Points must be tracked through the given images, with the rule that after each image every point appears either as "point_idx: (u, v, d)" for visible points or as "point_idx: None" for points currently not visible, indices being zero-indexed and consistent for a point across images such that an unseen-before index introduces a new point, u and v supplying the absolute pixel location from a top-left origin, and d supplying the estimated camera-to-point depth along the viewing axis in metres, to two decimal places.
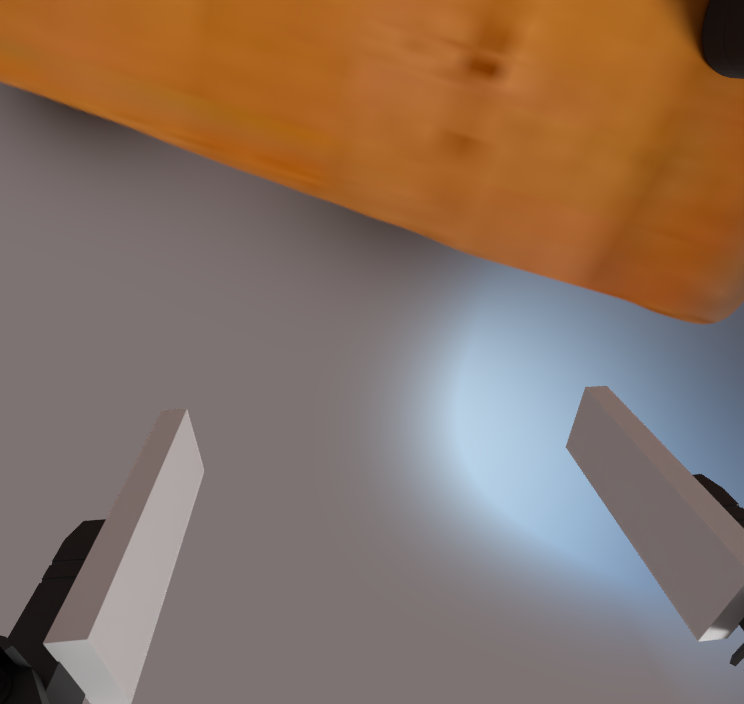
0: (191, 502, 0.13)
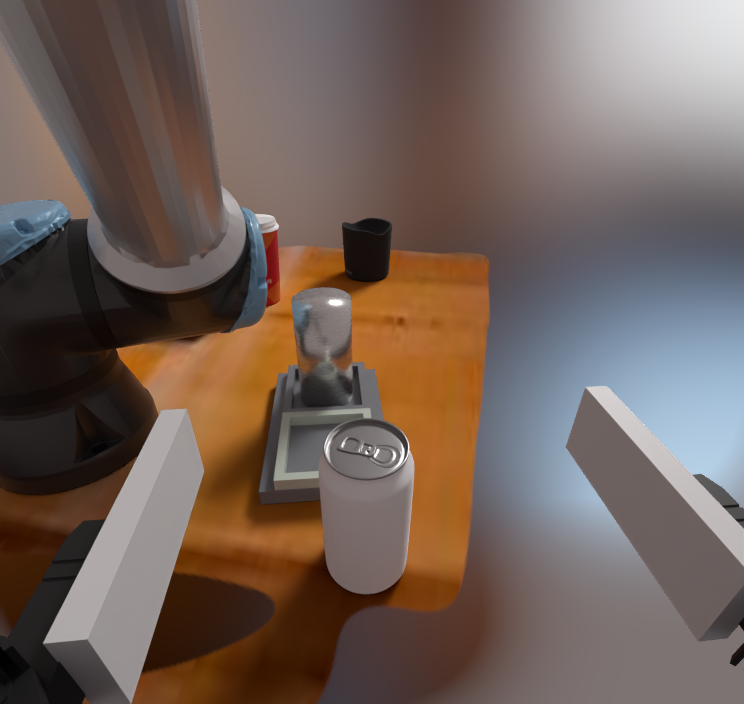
0: (191, 502, 0.13)
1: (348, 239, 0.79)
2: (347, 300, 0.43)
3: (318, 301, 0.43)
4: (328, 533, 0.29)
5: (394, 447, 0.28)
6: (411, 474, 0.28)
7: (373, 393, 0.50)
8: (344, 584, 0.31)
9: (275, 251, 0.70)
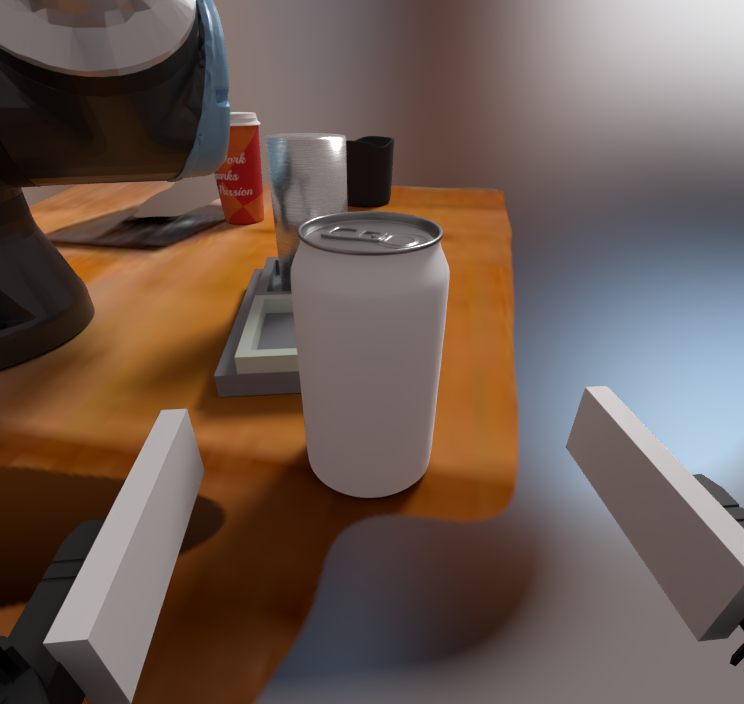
0: (191, 502, 0.13)
1: None
2: (340, 137, 0.32)
3: (300, 136, 0.32)
4: (308, 390, 0.18)
5: (416, 235, 0.17)
6: (446, 273, 0.16)
7: None
8: (336, 483, 0.20)
9: (256, 154, 0.59)
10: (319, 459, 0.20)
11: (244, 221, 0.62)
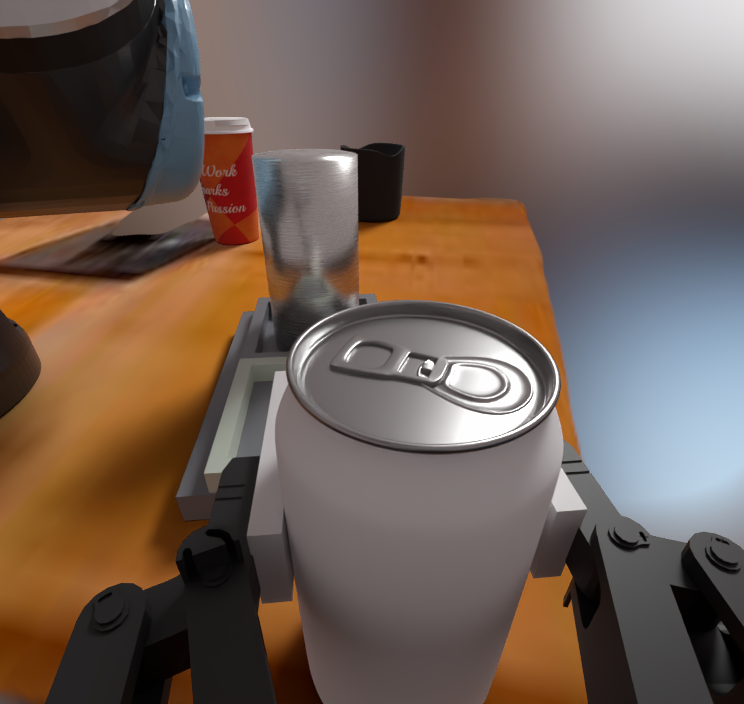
0: None
1: None
2: (351, 156, 0.24)
3: (298, 155, 0.24)
4: (308, 611, 0.11)
5: (501, 362, 0.09)
6: (562, 441, 0.09)
7: None
8: None
9: (249, 165, 0.51)
10: (325, 691, 0.12)
11: (236, 241, 0.54)
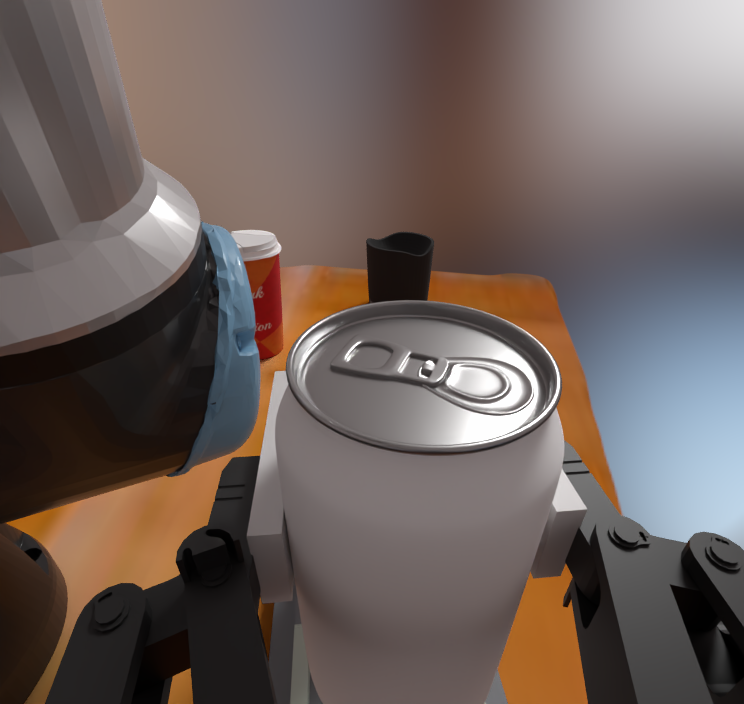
0: None
1: (375, 261, 0.58)
2: None
3: None
4: (308, 612, 0.11)
5: (502, 363, 0.09)
6: (563, 442, 0.09)
7: None
8: None
9: (276, 283, 0.48)
10: (325, 692, 0.12)
11: (260, 356, 0.51)
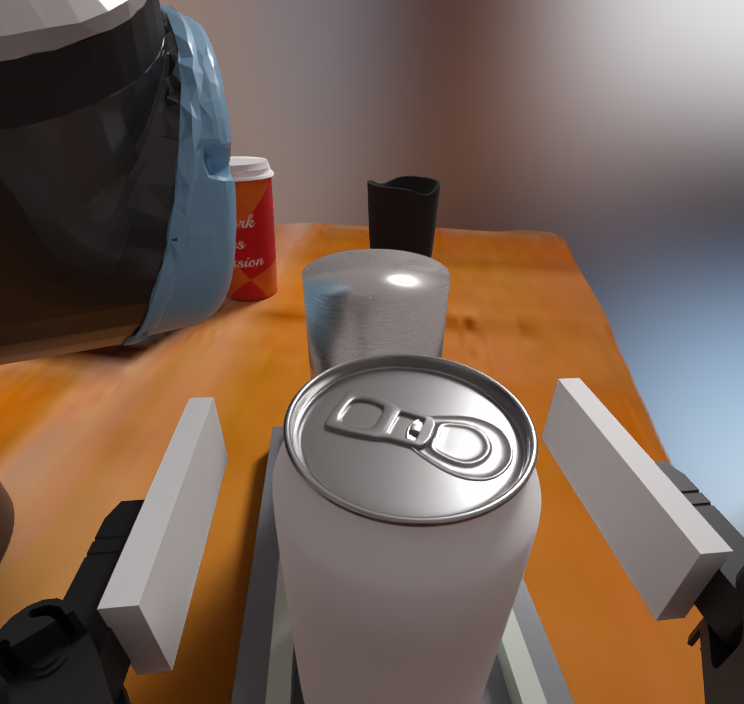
0: (217, 487, 0.14)
1: (377, 202, 0.54)
2: (441, 274, 0.17)
3: (368, 276, 0.17)
4: (301, 650, 0.11)
5: (485, 422, 0.10)
6: (540, 499, 0.09)
7: None
8: None
9: (269, 213, 0.44)
10: None
11: (252, 297, 0.47)
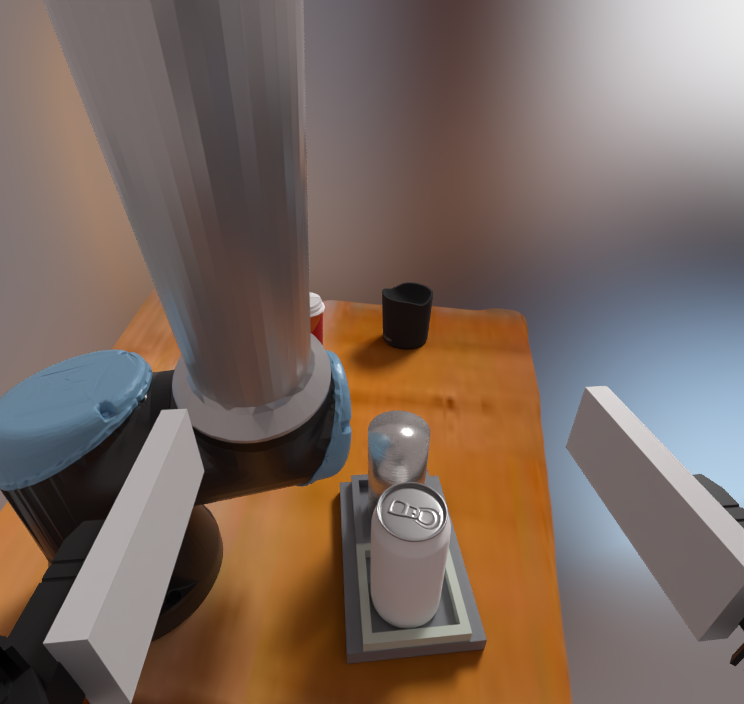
0: (191, 502, 0.13)
1: (389, 308, 0.78)
2: (426, 432, 0.41)
3: (396, 433, 0.41)
4: (378, 579, 0.35)
5: (434, 509, 0.34)
6: (449, 533, 0.33)
7: None
8: (390, 620, 0.37)
9: (321, 330, 0.68)
10: (381, 607, 0.37)
11: None
